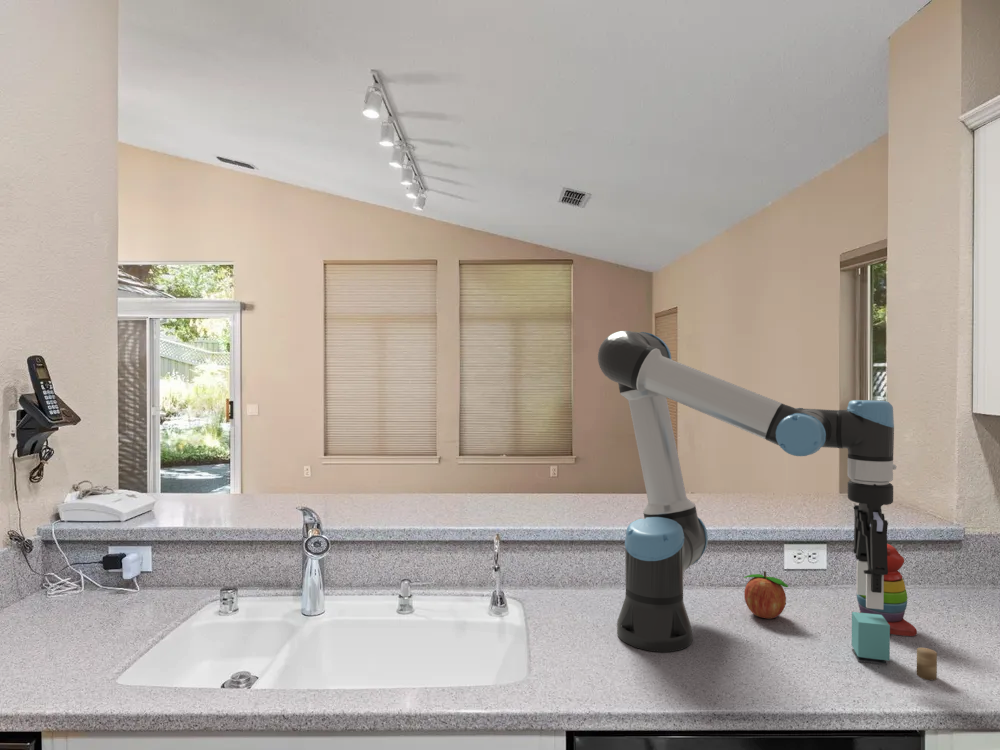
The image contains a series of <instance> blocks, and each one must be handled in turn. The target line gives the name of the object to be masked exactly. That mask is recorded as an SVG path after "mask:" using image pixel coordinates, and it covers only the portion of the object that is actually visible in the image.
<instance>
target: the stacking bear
mask: <svg viewBox="0 0 1000 750" xmlns="http://www.w3.org/2000/svg"><path fill="white" fill-rule="evenodd" d="M898 551H899V550H897V549H896V547H894V545H891V544H889V543H887V562H888V574H887V575H884V606H883V610H882V609H872V608H867V607H866V595H857V594H856V599H857V603H858V608H859V613H869V614H879V615H882V616H883V617H884V618H885V620H886V621H887V622H888V624H889V625H890V635H894V636H895V635H896V636H902V637H915V636H917V635H918V630H917V628H916V627H915V626H914V625H913V624H911V623H910V622H909V621H907V620H905V619H904V617H905V613H906V609H907V605H908V592H907V589H906V584H905V580H904V579H903V575H902V573H901V572H899V571H900V569H901V568H902V567H903V566H904V563H905V558H904V557H903V556H902V555H901V554H900V553H899V552H898Z"/></svg>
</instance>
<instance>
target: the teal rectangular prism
mask: <svg viewBox="0 0 1000 750" xmlns="http://www.w3.org/2000/svg"><path fill="white" fill-rule="evenodd" d="M890 637H891V634H890V625H889V624H888V622H887V621H886V620H885V618H884V617H883V616H882V615H879V614H869V613H860V611H859V612H858V611H851V647H852V649H854V650H855V652H856V654H857V655H858V657H864V658H872V659H880V660H885V661H891V659H890V657H891V656H890V652H891V650H890V649H891V645H890V644H891V640H890V639H891V638H890Z"/></svg>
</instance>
